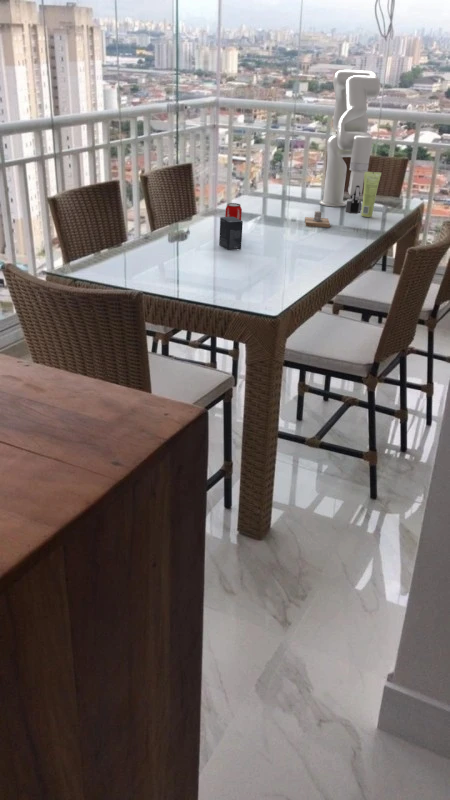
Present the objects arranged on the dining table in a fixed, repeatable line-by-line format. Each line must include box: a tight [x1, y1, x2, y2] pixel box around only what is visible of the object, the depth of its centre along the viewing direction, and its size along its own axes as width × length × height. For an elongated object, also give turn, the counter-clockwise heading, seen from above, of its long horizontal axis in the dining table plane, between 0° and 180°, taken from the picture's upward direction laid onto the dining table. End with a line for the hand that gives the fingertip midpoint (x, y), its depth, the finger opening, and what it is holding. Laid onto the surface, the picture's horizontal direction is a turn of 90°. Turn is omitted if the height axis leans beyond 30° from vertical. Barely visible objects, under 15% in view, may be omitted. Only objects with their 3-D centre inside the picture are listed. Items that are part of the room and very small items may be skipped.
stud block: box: [304, 210, 331, 228], centre depth 300 cm, size 10×10×5 cm
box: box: [218, 216, 243, 251], centre depth 259 cm, size 8×6×11 cm
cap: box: [344, 197, 363, 215], centre depth 298 cm, size 6×6×5 cm
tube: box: [360, 171, 382, 218], centre depth 314 cm, size 6×5×20 cm
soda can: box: [224, 202, 243, 221], centre depth 274 cm, size 6×6×12 cm
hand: (353, 209), depth 299 cm, fingers closed on cap, 6 cm apart
